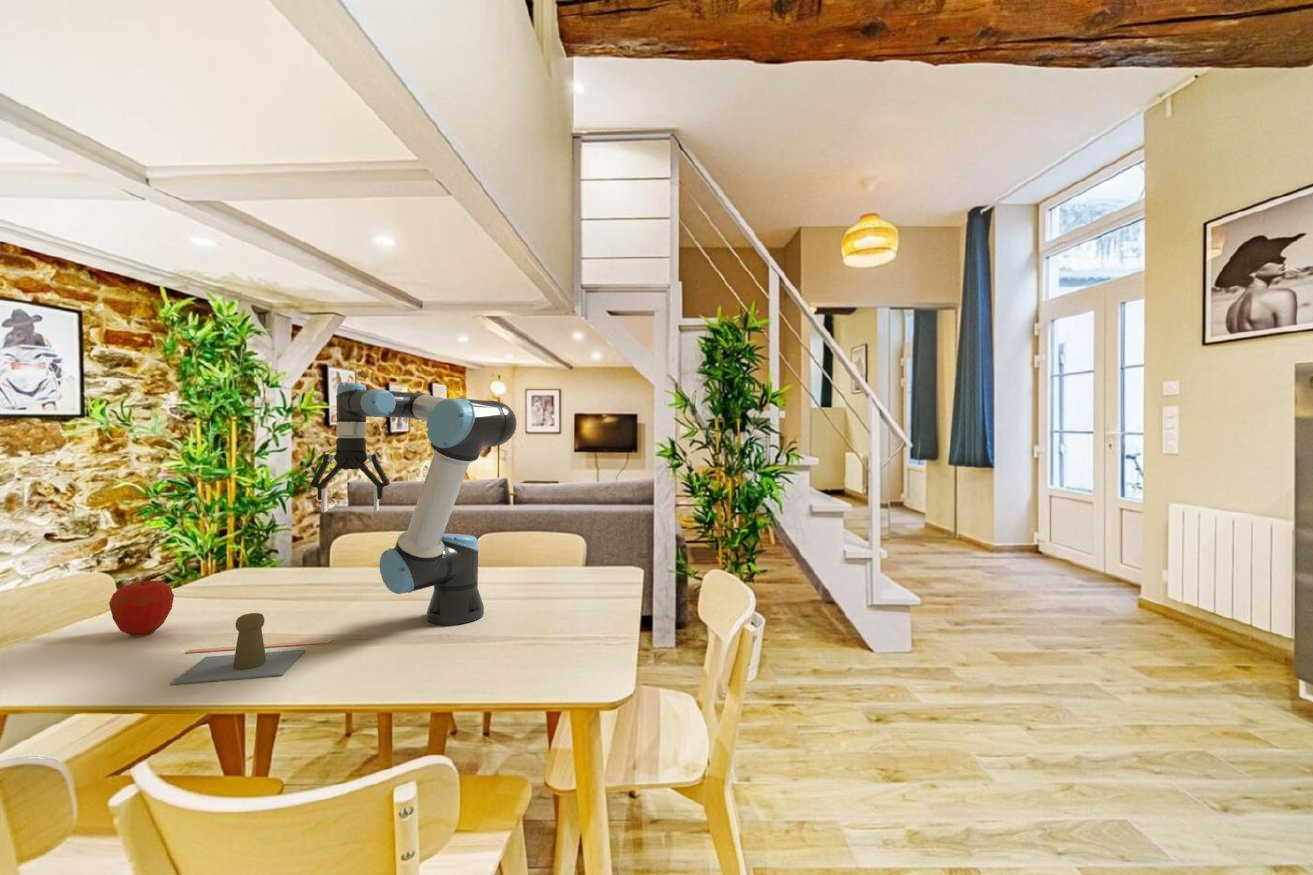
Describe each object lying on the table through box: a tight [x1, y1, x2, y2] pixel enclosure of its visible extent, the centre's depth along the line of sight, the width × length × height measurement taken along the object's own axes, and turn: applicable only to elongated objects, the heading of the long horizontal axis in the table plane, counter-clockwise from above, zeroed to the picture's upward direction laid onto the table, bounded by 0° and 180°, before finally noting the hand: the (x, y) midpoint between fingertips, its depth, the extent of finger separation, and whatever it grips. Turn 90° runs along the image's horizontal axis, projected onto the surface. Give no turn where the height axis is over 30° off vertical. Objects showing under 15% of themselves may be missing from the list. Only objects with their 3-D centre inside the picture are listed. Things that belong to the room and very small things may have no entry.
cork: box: [233, 612, 266, 670], centre depth 126 cm, size 6×6×11 cm
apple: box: [108, 578, 175, 637], centre depth 144 cm, size 12×12×14 cm
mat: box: [170, 649, 306, 686], centre depth 125 cm, size 20×14×1 cm
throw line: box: [184, 639, 332, 654], centre depth 137 cm, size 30×2×1 cm, turn 105°
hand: (350, 511), depth 165 cm, fingers open, 13 cm apart
